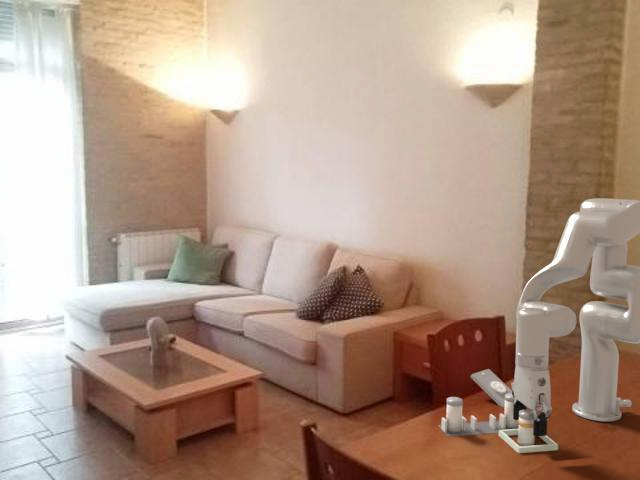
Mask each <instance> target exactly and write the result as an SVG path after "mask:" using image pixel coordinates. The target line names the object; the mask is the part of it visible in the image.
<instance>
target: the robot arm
mask: <svg viewBox="0 0 640 480" xmlns="http://www.w3.org/2000/svg"><path fill="white" fill-rule="evenodd" d="M639 234H640V200H638V199H627V198H626V199H625V198H624V199H621V198H620V199H619V198H606V197H605V198H603V197H600V198H598V197H597V198H595V197H594V198H588V199H586V200H584V201H583V202H582V203H581V204H580V208H579V211H577V212H574V213H572V214H571V215H570V216H569V217H568V219H567V222H566V223H565V227H564V228H563V232H562V235H561V237H560V239H559V242H558V245H557V248H556V250H555V254H554V257H553V259H552V261H551V262H550V263H549V264H547V265H546V266H544V267H543V268H542V269H540V270H539V271H538V272H537V273H535V274H534V275H533V276H532V277H531V278H530V279H529V280H528V281H527V283H526V284H525V286H524V288H523V291H522V293H521V296H520V298H519V300H518V303H517V307H516V311H515V313H516V314H515V317H516V332H515V333H516V334H515V335H516V336H515V364H514V365H515V367H514V368H515V369H514V375H513V376H514V377H513V382H510V383H511V384H510V386H511V390H512V395H513V403H514V409H513V419H514V420H519V411H520V410H527V408H528V410H531V411H533V413H534V416H535V419H536V420H534V425H533V435H534V436H535V438H537V437H538V438H539V436H546V435H547V434H548V421H549V418H551V413H552V411H553V408H552V407H553V406H551V404H552V403H551V400H552V395H551V394H552V392H551V377H550V371H549V356H550V355H549V353H550V352H549V350H550V349H549V348H550V338H560V337H564V336H565V337H566V336H568V335H569V334H571V333H572V332H573V331H574V330H575V328H576V326H577V315H576V313H575V311H574V310H573V309H571V308H570V307H568V306H565V305H561V304H555V303H551V302H546V301H540V300H541V298H542V297H543V295H544V294H545V293H546V291H548V290H549V289H551V288H552V287H554V286H557V285H560V284H563V283H566V282H569V281H572V280H576V279H579V278H582V277H584V276H585V275H586V274H587V272H588V269H589V267H590V266H591V267H590V274H589V275H590V277H589V278H590V279H589V289H590V290H591V292H592V293H593V295H596V296H600V297H604V298H609V299H615V300H622V301H626V302H627V305H623V304H618V303H613V302H608V301H601V300H600V301H599V300H595V301H594V300H592V301H589V302H586V303H585V304H583V305H582V307H581V308H580V311H579V317H578V318H579V325H580V333H581V352H580V354H581V355H580V372H579V375H580V376H579V386H578V387H579V389H578V390H579V391H578V392H579V393H578V402H574V403H573V404H572V406H571V407H572V412H574V414H575V415H577V416H579V417H581V418H584V419H587V420H589V421H590V420H591V421H596V422H615V421H619V420H620V419H622V415H623V414H622V411H621V410H620V409H622V408H627V407H628V408H629V407H632V405H633V404H632V403H633V402H632V401H631V400H630V399H622V398H621V397H617V393H618V377H619V376H618V375H619V361H620V354H619V350H618V346H617V345H616V342H615V340H616V341H619V342H624V343H630V344H636V345H637V344H640V266H639V265H632V264H628V263H627V258H628V250H629V249H628V247H629V246H628V242H629V241H631V240H632V239H633V238H635V237H636V236H637V235H639ZM590 263H591V264H590ZM540 411H541V413H540V414H539V412H540ZM547 436H548V435H547Z"/></svg>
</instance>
